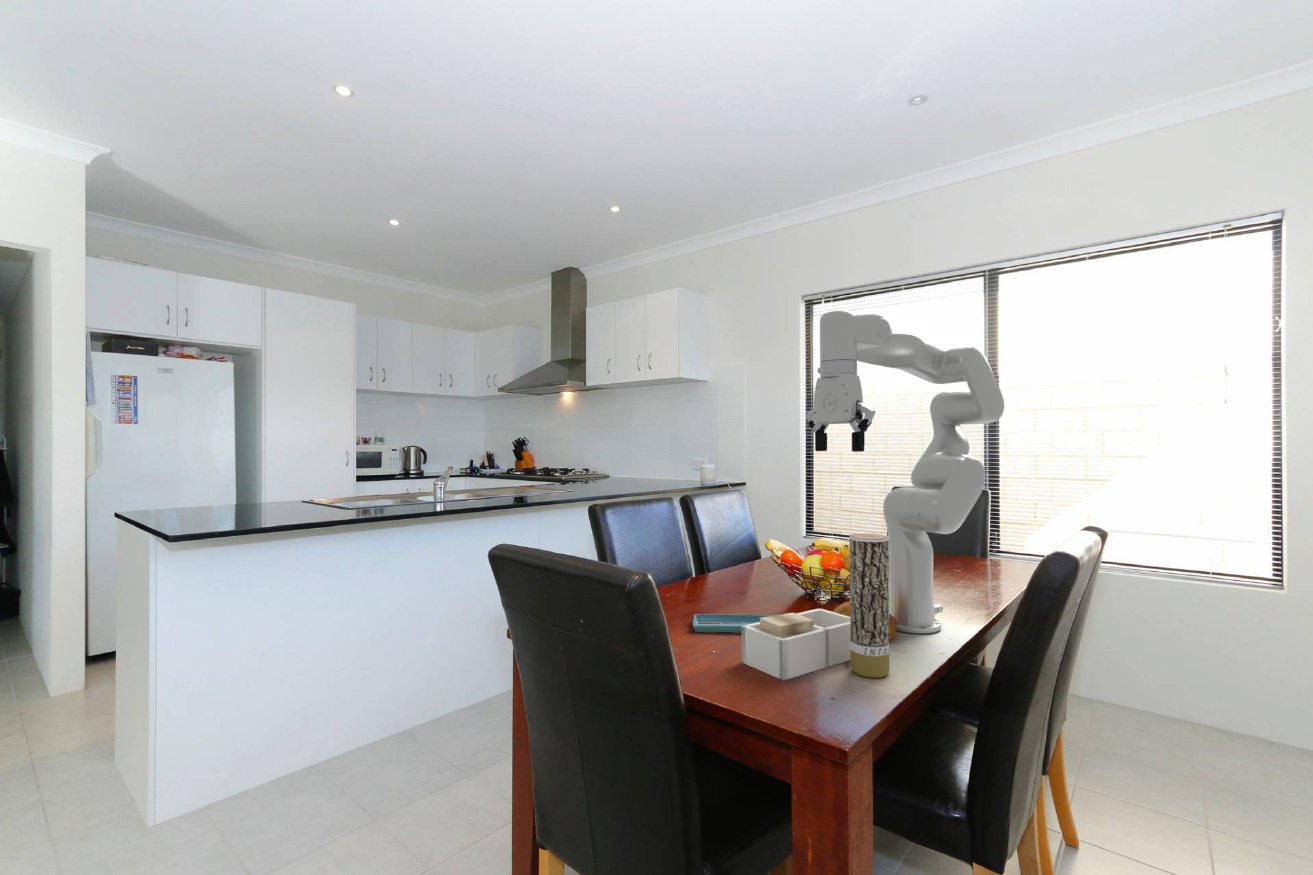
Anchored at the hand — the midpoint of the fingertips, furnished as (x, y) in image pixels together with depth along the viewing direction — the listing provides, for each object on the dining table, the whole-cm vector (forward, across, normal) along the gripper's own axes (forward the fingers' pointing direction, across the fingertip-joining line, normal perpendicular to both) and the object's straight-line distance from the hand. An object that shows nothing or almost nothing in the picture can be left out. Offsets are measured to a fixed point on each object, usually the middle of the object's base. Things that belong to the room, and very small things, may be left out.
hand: (839, 451), depth 133 cm
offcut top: (+34, +3, -20) cm, 40 cm away
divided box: (+40, +3, -15) cm, 43 cm away
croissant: (+41, 0, +8) cm, 41 cm away
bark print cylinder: (+40, +15, -10) cm, 44 cm away
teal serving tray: (+41, -18, -9) cm, 46 cm away
